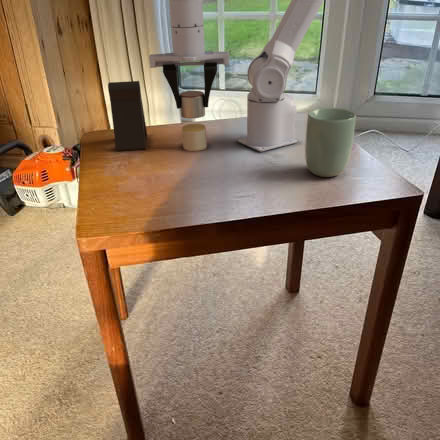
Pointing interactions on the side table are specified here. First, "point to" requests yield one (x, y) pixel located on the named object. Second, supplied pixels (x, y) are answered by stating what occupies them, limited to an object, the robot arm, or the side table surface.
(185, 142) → the pale yellow short cylinder
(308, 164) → the cup
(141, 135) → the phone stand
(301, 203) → the side table surface
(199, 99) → the cylinder
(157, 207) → the side table surface
